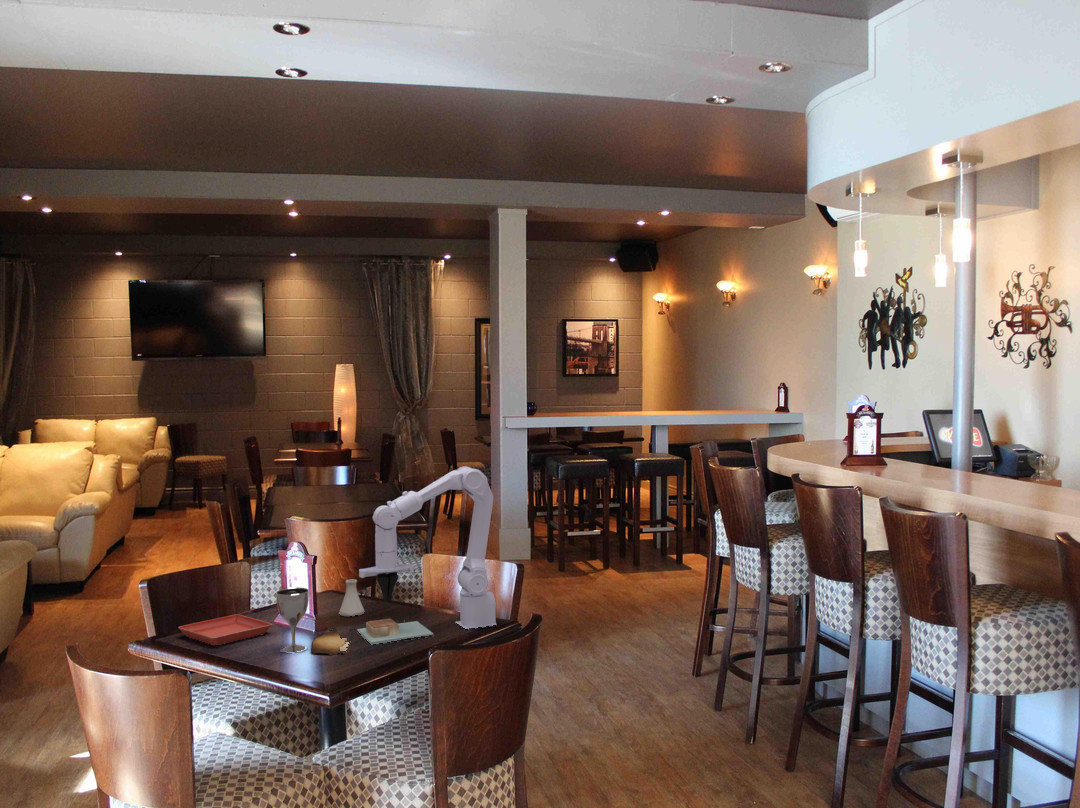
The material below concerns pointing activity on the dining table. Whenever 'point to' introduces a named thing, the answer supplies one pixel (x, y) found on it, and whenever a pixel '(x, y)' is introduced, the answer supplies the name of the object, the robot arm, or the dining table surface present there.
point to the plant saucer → (225, 629)
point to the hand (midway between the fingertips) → (387, 601)
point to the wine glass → (292, 610)
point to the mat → (404, 632)
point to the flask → (351, 600)
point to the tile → (382, 628)
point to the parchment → (329, 643)
